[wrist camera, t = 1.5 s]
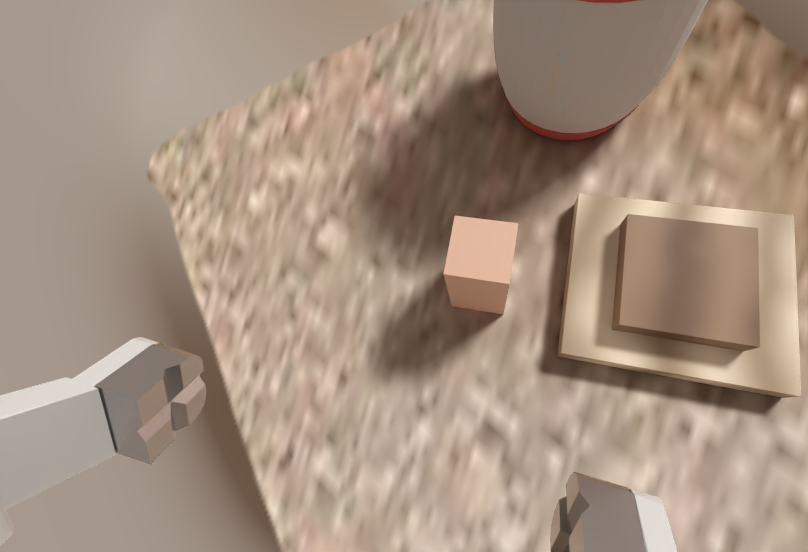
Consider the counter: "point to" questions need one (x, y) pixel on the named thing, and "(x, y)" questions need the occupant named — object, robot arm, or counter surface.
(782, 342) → the stepped pedestal
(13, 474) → the robot arm
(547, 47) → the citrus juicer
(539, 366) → the counter surface
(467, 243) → the pillar block
